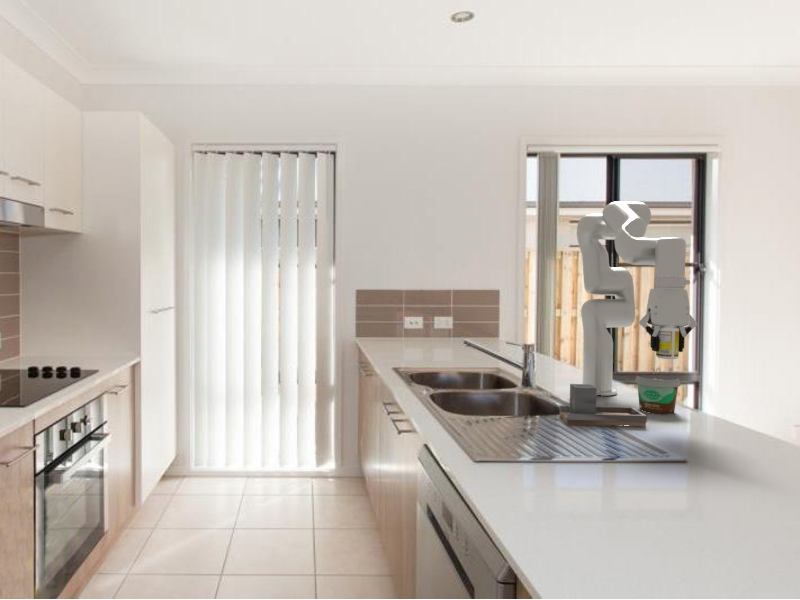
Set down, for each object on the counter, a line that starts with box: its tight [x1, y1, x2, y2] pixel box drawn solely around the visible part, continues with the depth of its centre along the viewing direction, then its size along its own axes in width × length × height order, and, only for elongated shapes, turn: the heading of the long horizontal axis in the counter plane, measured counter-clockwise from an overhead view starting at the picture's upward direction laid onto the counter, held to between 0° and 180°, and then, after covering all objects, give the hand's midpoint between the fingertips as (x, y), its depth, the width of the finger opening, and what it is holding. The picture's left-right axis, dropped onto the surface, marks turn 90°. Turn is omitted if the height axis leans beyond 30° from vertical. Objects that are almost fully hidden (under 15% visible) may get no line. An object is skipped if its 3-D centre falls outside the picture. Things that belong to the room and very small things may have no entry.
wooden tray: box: [558, 383, 648, 428], centre depth 161 cm, size 11×20×10 cm, turn 87°
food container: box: [634, 375, 682, 415], centre depth 173 cm, size 12×6×10 cm, turn 62°
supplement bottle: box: [655, 325, 680, 360], centre depth 161 cm, size 6×6×10 cm
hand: (667, 350), depth 161 cm, fingers closed on supplement bottle, 5 cm apart
